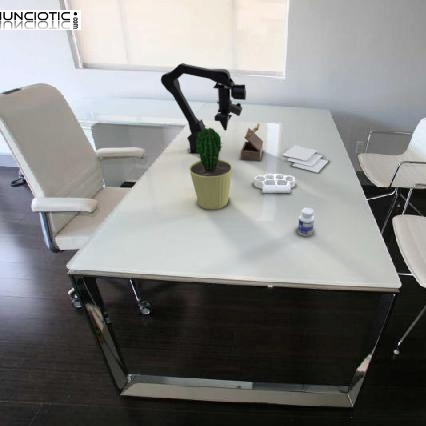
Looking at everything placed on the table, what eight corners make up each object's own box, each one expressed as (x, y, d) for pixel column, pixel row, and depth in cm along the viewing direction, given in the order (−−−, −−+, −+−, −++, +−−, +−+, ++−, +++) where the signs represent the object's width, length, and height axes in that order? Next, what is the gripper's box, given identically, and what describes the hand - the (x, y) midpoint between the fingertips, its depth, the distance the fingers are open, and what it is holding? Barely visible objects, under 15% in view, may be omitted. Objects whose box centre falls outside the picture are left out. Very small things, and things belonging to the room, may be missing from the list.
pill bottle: (296, 227, 113) (299, 206, 108) (311, 227, 114) (314, 206, 109) (298, 236, 109) (300, 214, 104) (313, 236, 109) (316, 215, 104)
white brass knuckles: (255, 195, 130) (253, 178, 142) (297, 194, 133) (292, 179, 145) (255, 188, 128) (253, 172, 140) (298, 187, 131) (293, 172, 143)
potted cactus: (214, 217, 115) (208, 137, 98) (184, 203, 121) (174, 126, 105) (241, 200, 126) (240, 126, 109) (212, 188, 132) (207, 117, 116)
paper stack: (333, 155, 172) (333, 154, 171) (317, 172, 152) (317, 171, 152) (294, 146, 179) (294, 145, 179) (274, 161, 160) (274, 160, 159)
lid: (244, 137, 153) (253, 127, 150) (247, 128, 164) (257, 119, 161) (259, 152, 157) (269, 142, 154) (262, 142, 168) (271, 133, 165)
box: (241, 159, 159) (240, 150, 157) (244, 149, 170) (244, 141, 168) (259, 161, 159) (260, 152, 157) (262, 150, 171) (262, 142, 168)
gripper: (237, 104, 142) (238, 137, 151) (243, 95, 158) (244, 125, 166) (213, 102, 142) (215, 136, 151) (221, 93, 158) (223, 124, 166)
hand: (225, 130), depth 158 cm, fingers closed
